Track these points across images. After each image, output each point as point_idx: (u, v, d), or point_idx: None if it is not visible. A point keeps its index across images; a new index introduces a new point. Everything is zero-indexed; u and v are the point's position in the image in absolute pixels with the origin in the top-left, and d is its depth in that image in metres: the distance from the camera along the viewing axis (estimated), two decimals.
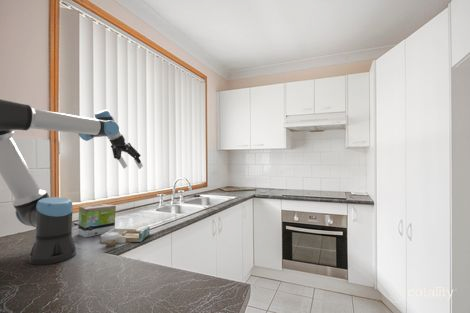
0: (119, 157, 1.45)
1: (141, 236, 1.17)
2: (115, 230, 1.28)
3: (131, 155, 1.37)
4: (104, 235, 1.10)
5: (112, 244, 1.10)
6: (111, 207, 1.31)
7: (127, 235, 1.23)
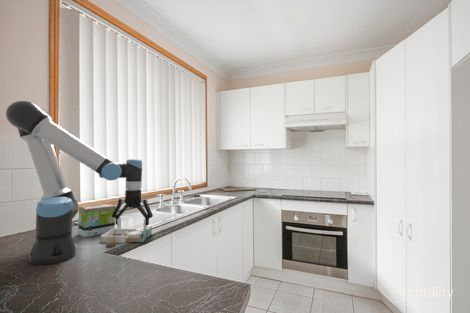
0: (118, 216, 1.22)
1: (143, 236, 1.17)
2: (115, 230, 1.28)
3: (143, 213, 1.21)
4: (128, 234, 1.21)
5: (112, 244, 1.10)
6: (111, 207, 1.31)
7: None
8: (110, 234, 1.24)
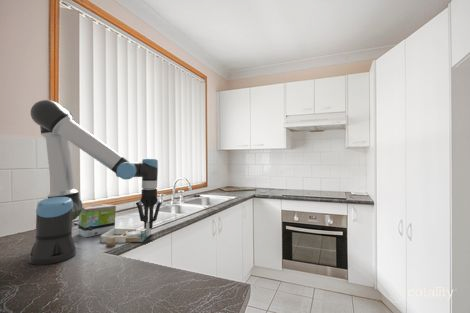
0: (147, 220, 1.23)
1: (143, 236, 1.17)
2: (115, 230, 1.28)
3: (150, 216, 1.21)
4: (128, 234, 1.21)
5: (112, 244, 1.10)
6: (111, 207, 1.31)
7: None
8: (110, 234, 1.24)
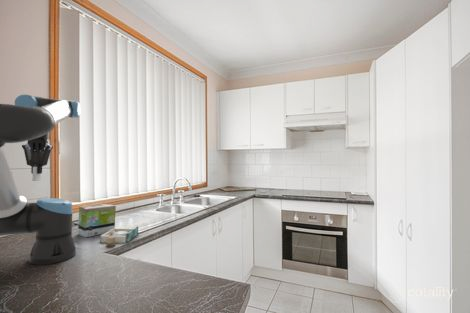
0: (35, 165, 1.13)
1: (129, 236, 1.17)
2: (115, 230, 1.28)
3: (37, 159, 1.11)
4: (114, 233, 1.20)
5: (112, 244, 1.10)
6: (111, 207, 1.31)
7: None
8: None
